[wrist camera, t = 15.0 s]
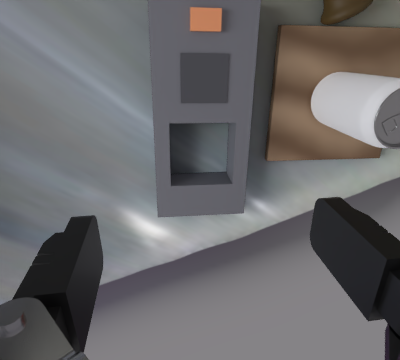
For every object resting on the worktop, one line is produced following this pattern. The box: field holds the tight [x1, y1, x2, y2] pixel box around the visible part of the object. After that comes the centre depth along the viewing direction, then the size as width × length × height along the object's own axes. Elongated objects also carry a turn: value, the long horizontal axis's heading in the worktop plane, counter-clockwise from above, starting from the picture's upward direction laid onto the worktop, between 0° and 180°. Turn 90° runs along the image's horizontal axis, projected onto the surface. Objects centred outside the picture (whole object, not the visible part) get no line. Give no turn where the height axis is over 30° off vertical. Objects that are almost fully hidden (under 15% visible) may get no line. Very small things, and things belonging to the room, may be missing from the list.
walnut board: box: [265, 25, 400, 161], centre depth 38 cm, size 16×16×1 cm
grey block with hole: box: [148, 0, 261, 217], centre depth 35 cm, size 24×11×5 cm, turn 179°
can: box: [311, 72, 400, 149], centre depth 32 cm, size 6×6×12 cm
